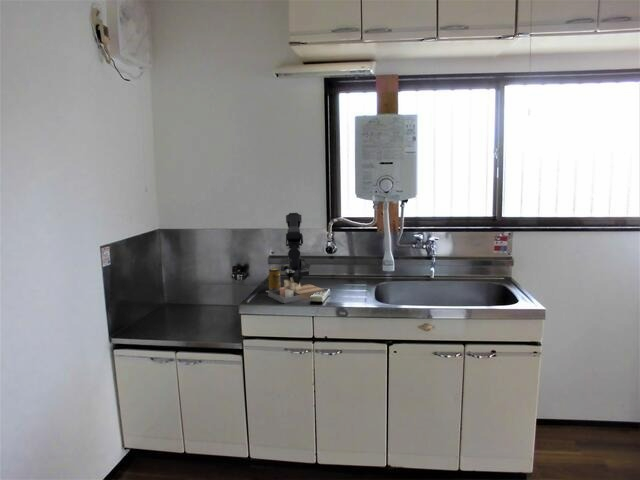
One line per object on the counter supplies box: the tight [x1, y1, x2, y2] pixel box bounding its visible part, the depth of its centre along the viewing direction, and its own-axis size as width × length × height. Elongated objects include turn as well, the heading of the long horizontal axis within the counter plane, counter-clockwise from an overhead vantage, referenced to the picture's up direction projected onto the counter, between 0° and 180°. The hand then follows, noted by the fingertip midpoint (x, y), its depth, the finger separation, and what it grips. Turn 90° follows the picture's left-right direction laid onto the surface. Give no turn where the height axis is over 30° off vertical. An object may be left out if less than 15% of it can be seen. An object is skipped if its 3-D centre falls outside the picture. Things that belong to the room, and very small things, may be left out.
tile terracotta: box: [280, 286, 288, 297], centre depth 225 cm, size 4×4×2 cm
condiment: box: [265, 267, 282, 294], centre depth 234 cm, size 7×8×12 cm
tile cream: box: [285, 289, 293, 298], centre depth 220 cm, size 4×4×2 cm
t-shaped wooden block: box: [283, 277, 301, 293], centre depth 224 cm, size 12×5×6 cm, turn 33°
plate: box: [293, 283, 325, 301], centre depth 228 cm, size 14×14×3 cm
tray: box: [268, 290, 302, 304], centre depth 222 cm, size 16×9×2 cm, turn 33°
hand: (295, 287), depth 225 cm, fingers closed on t-shaped wooden block, 3 cm apart
